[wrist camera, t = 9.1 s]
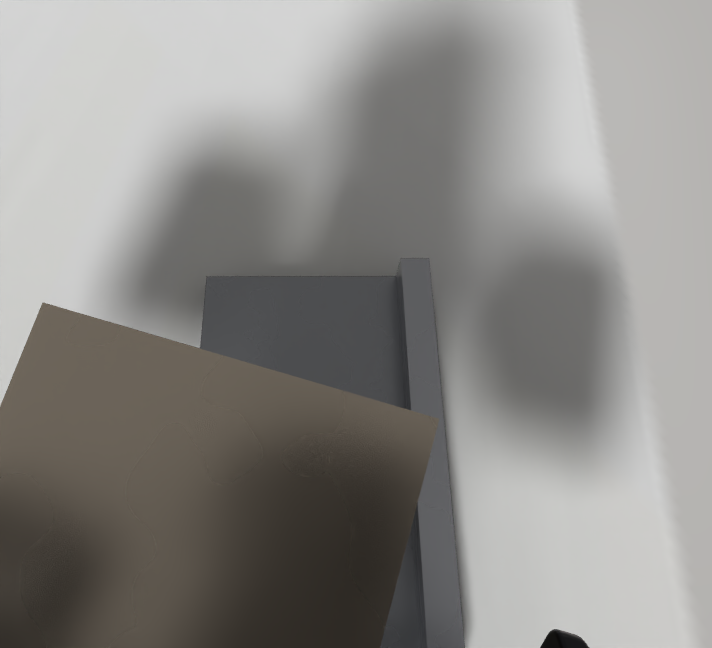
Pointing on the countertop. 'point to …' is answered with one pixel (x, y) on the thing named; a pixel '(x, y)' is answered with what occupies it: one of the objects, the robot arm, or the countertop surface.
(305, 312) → the plate
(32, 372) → the block
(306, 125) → the countertop surface
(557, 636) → the robot arm
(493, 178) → the countertop surface
